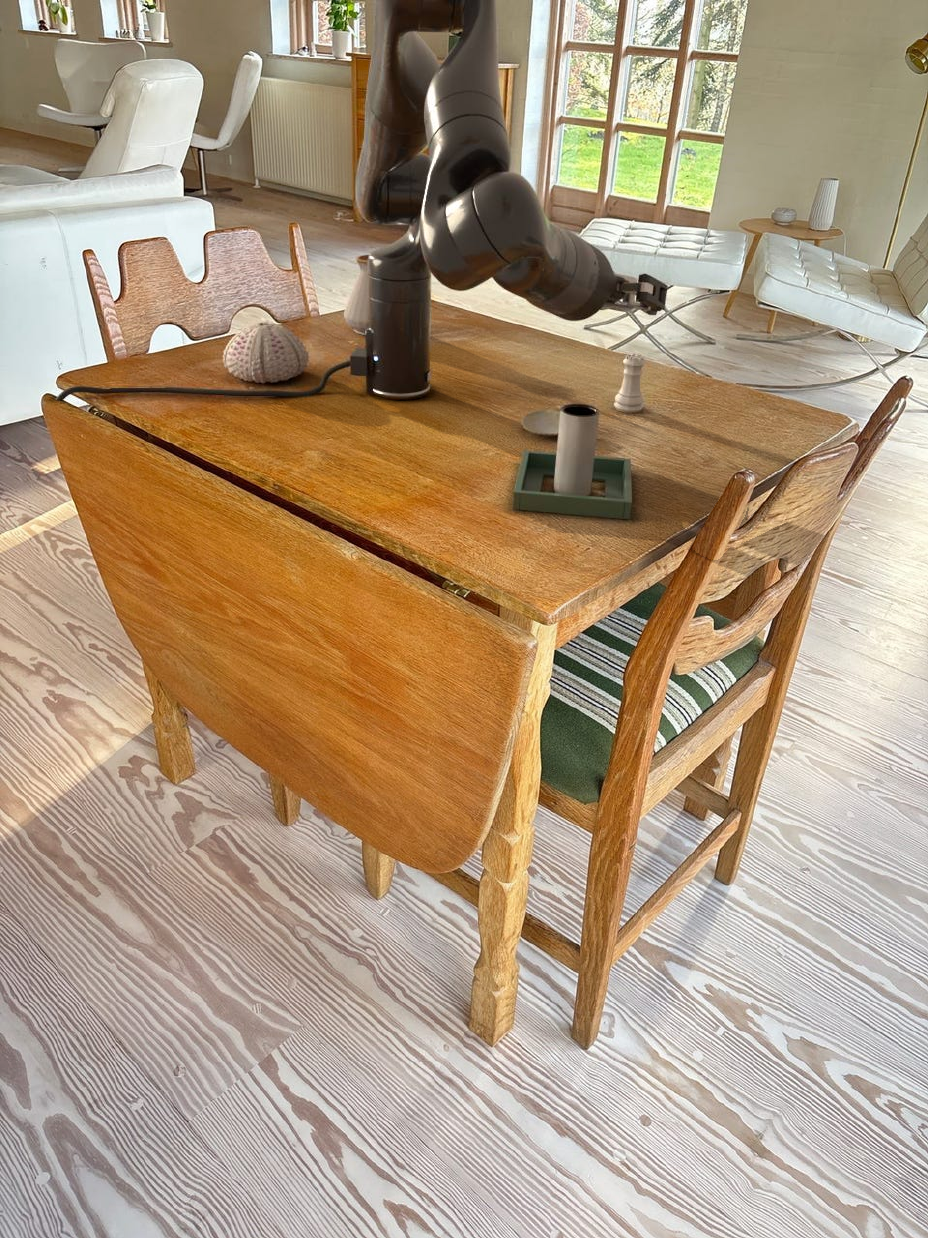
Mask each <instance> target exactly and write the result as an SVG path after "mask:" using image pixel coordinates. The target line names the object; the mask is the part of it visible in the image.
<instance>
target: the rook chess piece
mask: <svg viewBox="0 0 928 1238" xmlns="http://www.w3.org/2000/svg"><path fill="white" fill-rule="evenodd" d="M644 358H645V357H644V355H642V354H640V353H638V354H637V356H636V353H633V352H632V353H627V354H625V358H624V359H623V361H622V363H623V365H624V370H623V371H622V372H623V380H622V383H621V387H620V389H619V390H618V393H617V394H616V395H615V397H614V400H615V402H614V403H613V406H614V408H615V410H617V411H618V412H622V413H626V414H633V413H634V414H635V413H640V412H641V411H642V410H643V409H644V405H643V403H644V402H645V400H644V397H643V393H642V391H641V377H642V374H643V372H642V369H643V367H644V366H645V364H646V362H645V360H644Z"/></svg>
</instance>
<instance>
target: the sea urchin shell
mask: <svg viewBox="0 0 928 1238" xmlns="http://www.w3.org/2000/svg"><path fill="white" fill-rule="evenodd" d="M222 352H223V355H222V356H221V357H222V358H223V359H222V363H223V364H224V368H225V369H227V371H228V373H230V374H232V375H233V376H234V378H239V379H240V380H243V381H245V382H246V381H247V382H249V383H251V382H255V383H257V384H259V383H262V384H265V383H271V384H273V383H278V382H281V381H282V382H284V381H288V380H290V379H291V378H292V379H293V378H295V377H297V376H298V375H301V374H302V373H303V372H304V371H305V370H306V368H307V367H308V363H309V361H310V360H309V359H310V356H309V353H308V351H307V348H306V346H305V345H304V343H303V342H302V341H301V340H300V338H299V336H297V335H296V334H295V332H294V331H291V330H290V328H287V327H285V326H283V325H281V324H278V323H274V322H268V321H265V322H258V323H253V324H249V325H248V326H245V327H243V328H242V329H240V330H239V331H238V332H236V333H235V335H233V336H232V337H231V339H230V340H229V342H228V343H227V345H226V346H225V349H224V350H223V351H222Z"/></svg>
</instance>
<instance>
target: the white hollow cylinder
mask: <svg viewBox="0 0 928 1238" xmlns="http://www.w3.org/2000/svg"><path fill="white" fill-rule="evenodd" d="M560 408H561V410H560V421H559V432H558V436H557V444H556V453H557V454H556V465H555V476H554V477H553V493H558V494H569V495H581V496H590V494H591V491H592V483H593V481H592V475H593V466H594V457H595V456H596V447H597V439H598V430H599V421H600V410H599V408H598V407H595V406H594V405H590V404H585V403H568V404H565V405H563V406H561V407H560Z"/></svg>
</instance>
